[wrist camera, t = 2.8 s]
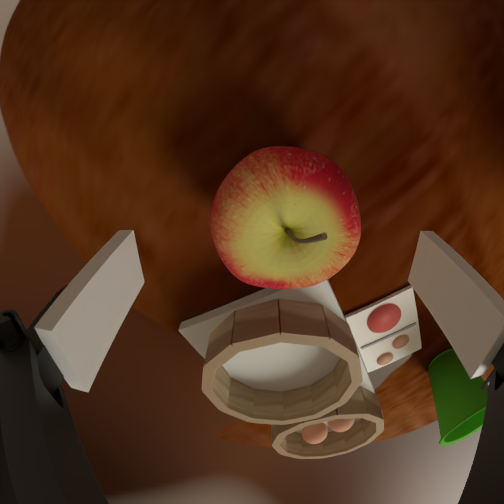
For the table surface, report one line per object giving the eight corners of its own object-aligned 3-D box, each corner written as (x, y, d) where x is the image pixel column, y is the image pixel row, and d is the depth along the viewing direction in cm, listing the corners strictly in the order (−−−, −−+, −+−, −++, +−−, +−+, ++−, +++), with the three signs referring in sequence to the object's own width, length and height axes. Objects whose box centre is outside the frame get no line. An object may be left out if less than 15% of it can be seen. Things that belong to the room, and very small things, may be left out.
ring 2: (334, 372, 27) (341, 402, 24) (394, 403, 31) (401, 426, 27) (251, 420, 32) (249, 445, 29) (319, 442, 36) (321, 463, 33)
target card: (344, 315, 25) (345, 319, 24) (410, 284, 23) (413, 288, 23) (367, 370, 29) (368, 373, 28) (420, 345, 27) (422, 349, 27)
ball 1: (315, 413, 31) (317, 435, 28) (331, 419, 32) (334, 440, 29) (295, 423, 33) (296, 444, 30) (312, 429, 34) (314, 449, 31)
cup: (403, 386, 31) (426, 452, 21) (433, 339, 27) (470, 412, 17) (450, 378, 31) (474, 435, 21) (479, 334, 27) (516, 393, 17)
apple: (359, 189, 19) (425, 252, 11) (285, 267, 23) (297, 364, 14) (273, 114, 17) (284, 113, 8) (200, 206, 21) (156, 282, 12)
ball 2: (341, 398, 30) (346, 421, 27) (357, 405, 31) (362, 427, 28) (320, 410, 31) (323, 433, 28) (336, 416, 32) (340, 438, 29)
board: (181, 322, 26) (178, 330, 25) (320, 264, 22) (323, 271, 21) (296, 437, 37) (297, 443, 36) (381, 411, 34) (383, 417, 33)
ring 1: (276, 270, 21) (278, 302, 18) (378, 345, 25) (389, 375, 22) (182, 358, 27) (174, 389, 23) (283, 407, 31) (284, 434, 27)
